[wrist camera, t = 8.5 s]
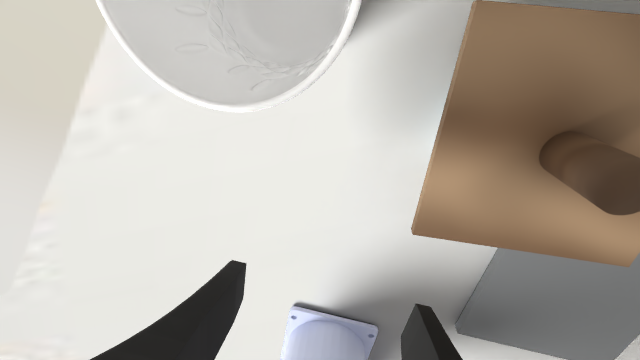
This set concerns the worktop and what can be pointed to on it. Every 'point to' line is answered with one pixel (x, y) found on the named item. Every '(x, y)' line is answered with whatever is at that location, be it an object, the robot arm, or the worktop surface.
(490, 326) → the mat
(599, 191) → the lid
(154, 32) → the white cup
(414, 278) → the worktop surface
